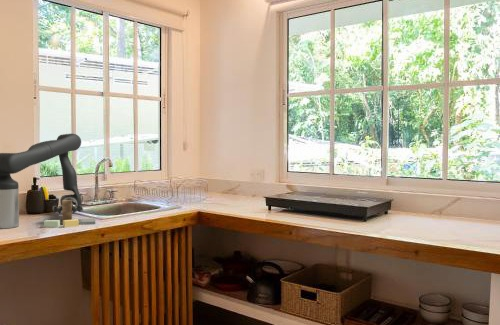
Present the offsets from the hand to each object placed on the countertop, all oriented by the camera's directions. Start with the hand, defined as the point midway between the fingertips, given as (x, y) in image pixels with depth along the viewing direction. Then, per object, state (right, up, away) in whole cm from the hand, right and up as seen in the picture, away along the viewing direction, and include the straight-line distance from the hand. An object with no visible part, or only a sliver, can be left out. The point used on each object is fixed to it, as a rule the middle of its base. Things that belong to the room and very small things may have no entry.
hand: (66, 210), depth 206 cm
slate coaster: (+7, -6, +5) cm, 11 cm away
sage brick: (-5, -7, -5) cm, 10 cm away
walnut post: (-1, -6, +3) cm, 7 cm away
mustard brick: (+3, -7, -3) cm, 8 cm away
